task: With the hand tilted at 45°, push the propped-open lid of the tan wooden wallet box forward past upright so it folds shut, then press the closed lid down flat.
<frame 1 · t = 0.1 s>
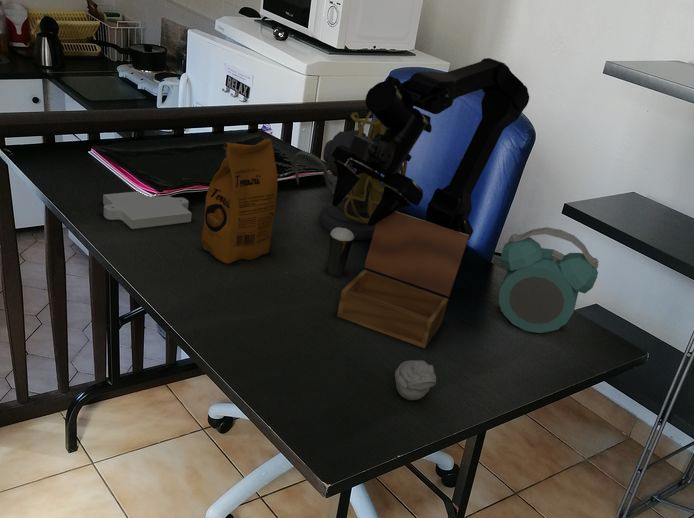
hand: (351, 215, 135), 15 cm above the table, tool tilted 35°, fingers open, 9 cm apart
grey lumpy ball: (409, 399, 116), on the table
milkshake: (336, 273, 148), on the table
coffee package: (234, 252, 148), on the table
wallet box: (390, 320, 136), on the table
lid: (415, 251, 136), point 11 cm above the table, hinge at 104.0°
alarm clock: (527, 325, 145), on the table
electric fan: (322, 216, 172), on the table
mounting plate: (147, 213, 156), on the table
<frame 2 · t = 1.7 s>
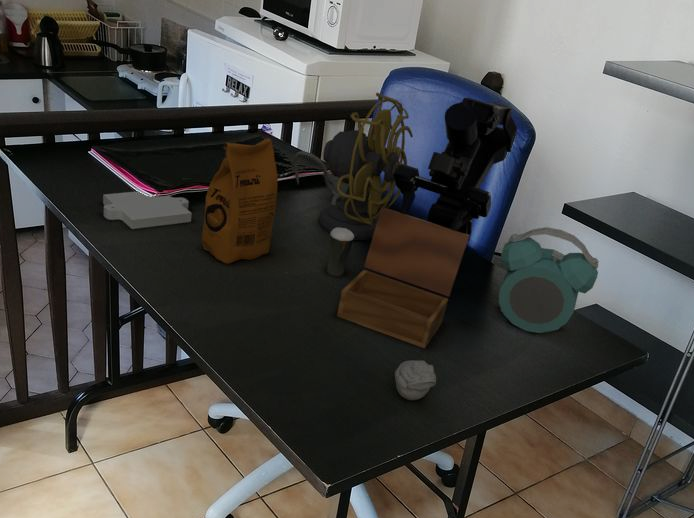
hand: (424, 229, 141), 13 cm above the table, tool tilted 45°, fingers open, 9 cm apart
lid: (415, 251, 136), point 11 cm above the table, hinge at 105.2°
everything else where it was.
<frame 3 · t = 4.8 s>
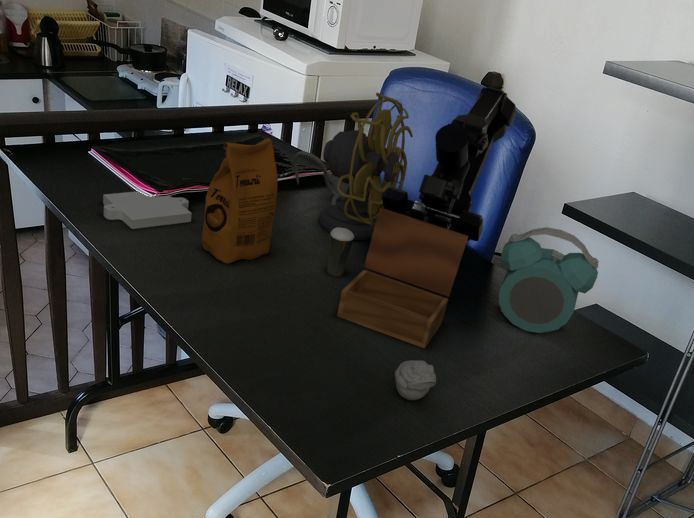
hand: (415, 254, 136), 11 cm above the table, tool tilted 45°, fingers closed, pressing on lid
lid: (414, 252, 135), point 11 cm above the table, hinge at 99.3°, touching gripper
everything else where it was.
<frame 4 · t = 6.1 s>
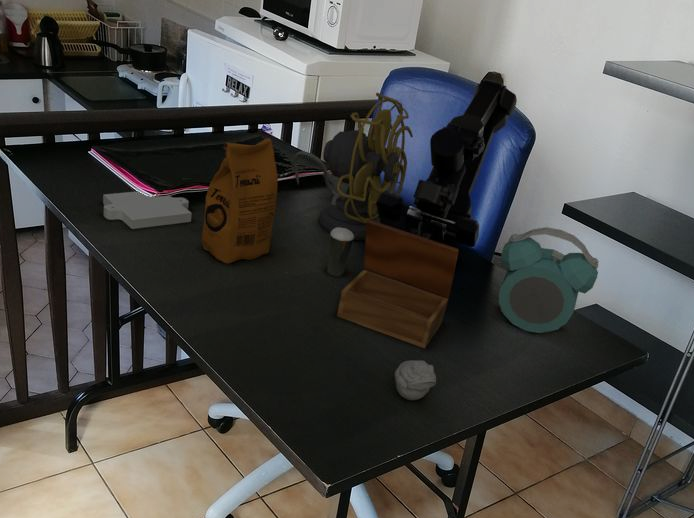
hand: (409, 260, 134), 11 cm above the table, tool tilted 45°, fingers closed, pressing on lid
lid: (409, 259, 133), point 11 cm above the table, hinge at 68.1°, touching gripper
everything else where it was.
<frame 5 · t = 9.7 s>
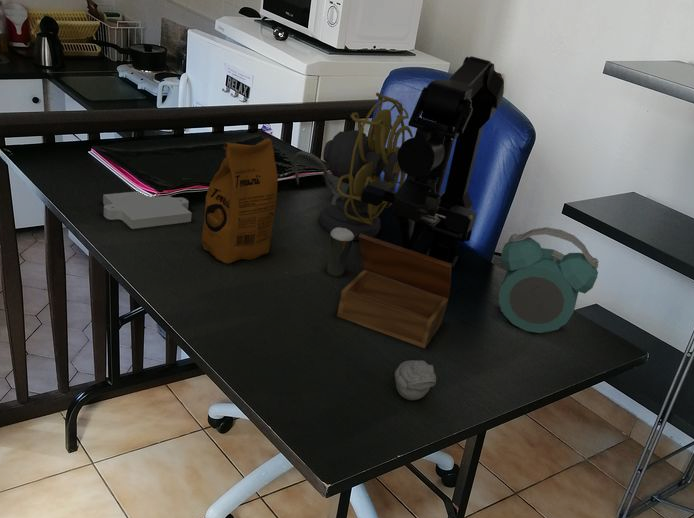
hand: (406, 253, 129), 13 cm above the table, tool pointing down, fingers closed, pressing on lid
lid: (405, 266, 132), point 10 cm above the table, hinge at 50.7°, touching gripper
everything else where it was.
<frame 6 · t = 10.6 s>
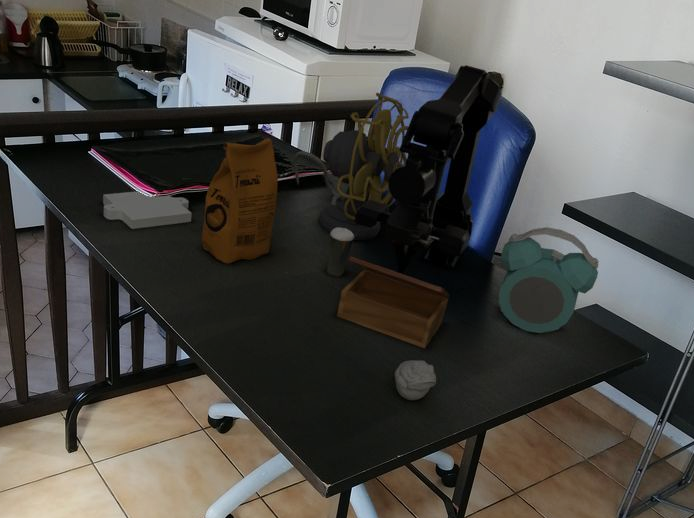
hand: (401, 272, 131), 10 cm above the table, tool pointing down, fingers closed
lid: (400, 277, 132), point 8 cm above the table, hinge at 28.4°
everything else where it was.
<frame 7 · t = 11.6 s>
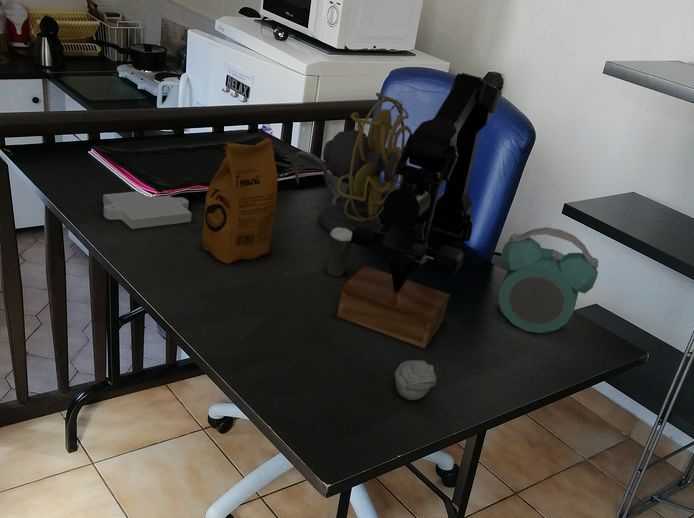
hand: (396, 291, 132), 6 cm above the table, tool pointing down, fingers closed, pressing on lid
lid: (396, 293, 133), point 6 cm above the table, hinge at -0.3°, touching gripper, wallet box
everything else where it was.
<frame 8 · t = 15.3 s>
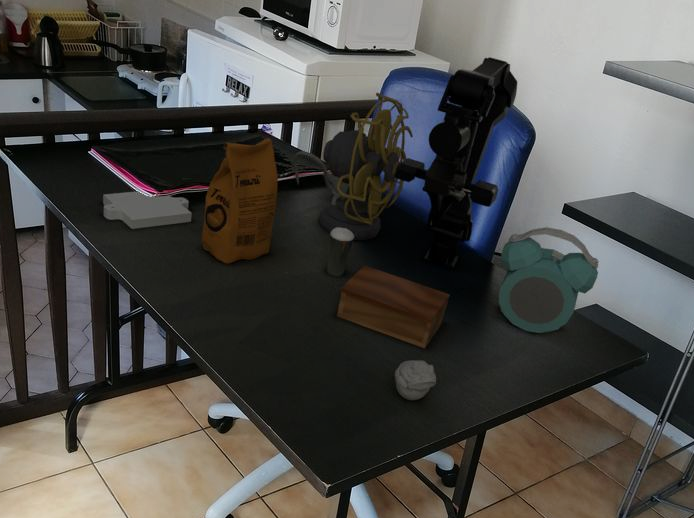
hand: (435, 224, 144), 13 cm above the table, tool pointing down, fingers closed
lid: (396, 293, 133), point 6 cm above the table, hinge at -0.3°, touching wallet box
everything else where it was.
at the end: lid at +0° (first picture: +104°) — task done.
